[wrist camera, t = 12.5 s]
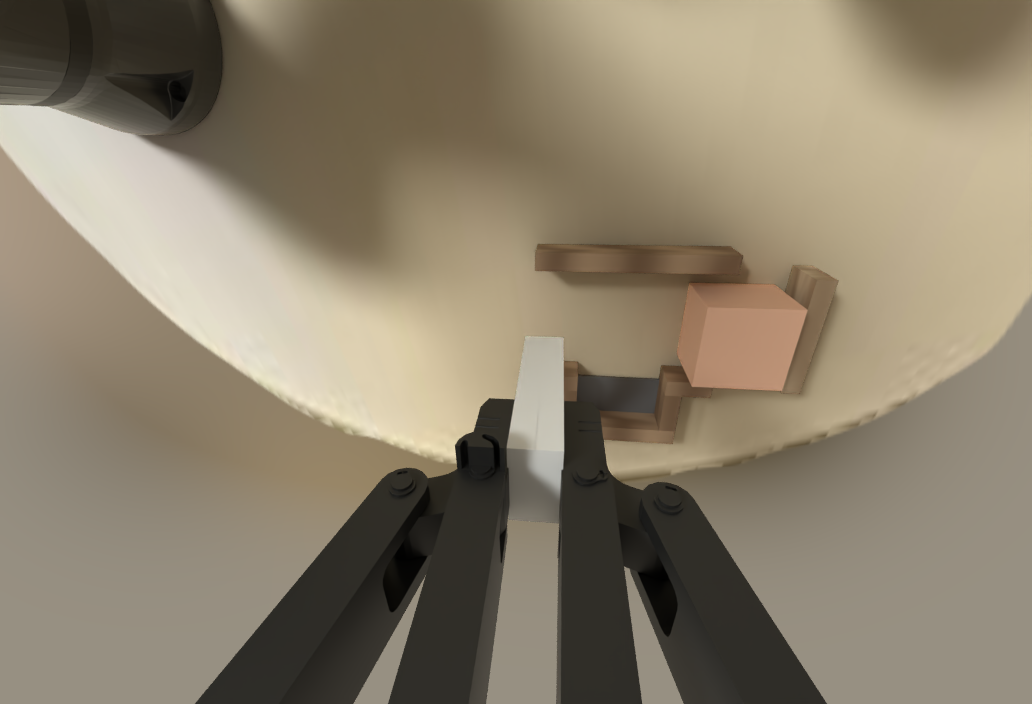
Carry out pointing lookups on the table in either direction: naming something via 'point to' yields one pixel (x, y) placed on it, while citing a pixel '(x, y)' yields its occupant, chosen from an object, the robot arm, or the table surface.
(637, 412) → the open wooden frame
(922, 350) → the table surface
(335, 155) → the table surface
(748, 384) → the block
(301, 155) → the table surface
